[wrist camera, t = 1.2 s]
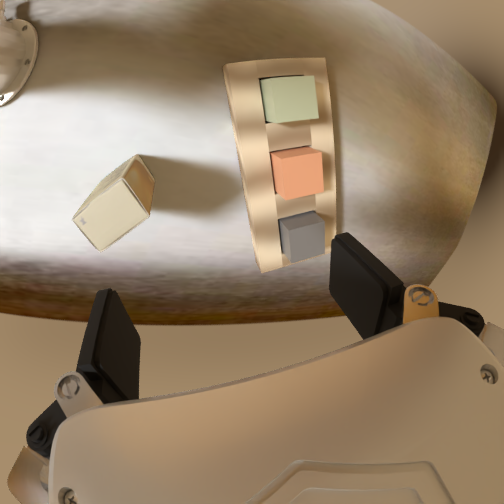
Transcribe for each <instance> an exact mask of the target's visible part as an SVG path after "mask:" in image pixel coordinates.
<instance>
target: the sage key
mask: <svg viewBox="0 0 504 504" xmlns="http://www.w3.org/2000/svg"><path fill="white" fill-rule="evenodd" d="M259 82H260V88H261V95H262V101H263V108H264V115H265V121H269V122H273V123H283V122H291V121H299V120H307V119H317V118H319V115H318V105H317V96H316V88H315V80H314V76H293V77H279V78H269V79H264V80H260V81H259Z"/></svg>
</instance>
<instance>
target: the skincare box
mask: <svg viewBox="0 0 504 504" xmlns="http://www.w3.org/2000/svg"><path fill="white" fill-rule="evenodd" d="M154 184H155V179H154V178H153V176H152V174H151V173H150V171H149V170H148V168H147V167H146V165H145V164H144V162H143V161H142V159H141V158H140V156H139V155H138V154H136V155H135V156H133V157H132V158H130V159H129V160H127V161H126V162H124V163H123V164H122V165H120V166H119V167H118V168H116V169H115V170H114V171H113V172H111V173H110V174H109V175H108V176H106V177H105V178H104V179H103V180H102V181H101V182H100V183H99V184H98V185H97V186H96V188H95V189H94V190H93V191H92V193H91V194H90V195H89V196H88V198H87V199H86V200H85V202H84V203H83V204H82V206H81V207H80V208H79V210H78V211H77V212H76V214H75V215H74V216H73V218H72V221H73V222H74V223H75V224H76V226H77V227H78V228H79V229H80V231H81V232H82V233H83V234H84V236H85V237H86V238H87V239H88V240H89V242H90V243H91V244H92V245H93V246H94V247H95V248H96V249H97V250H98V251H99V252H102V251H104V250H105V249H107V248H108V247H110V246H111V245H113V244H114V243H116V242H117V241H118V240H120V239H121V238H122V237H124V236H125V235H126V234H128V233H129V232H130V231H132V230H133V229H134V228H136V227H137V226H138V225H139V224H141V223H142V222H143V221H145V220H146V219H147V218H149V217H150V210H151V203H152V196H153V190H154Z"/></svg>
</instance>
